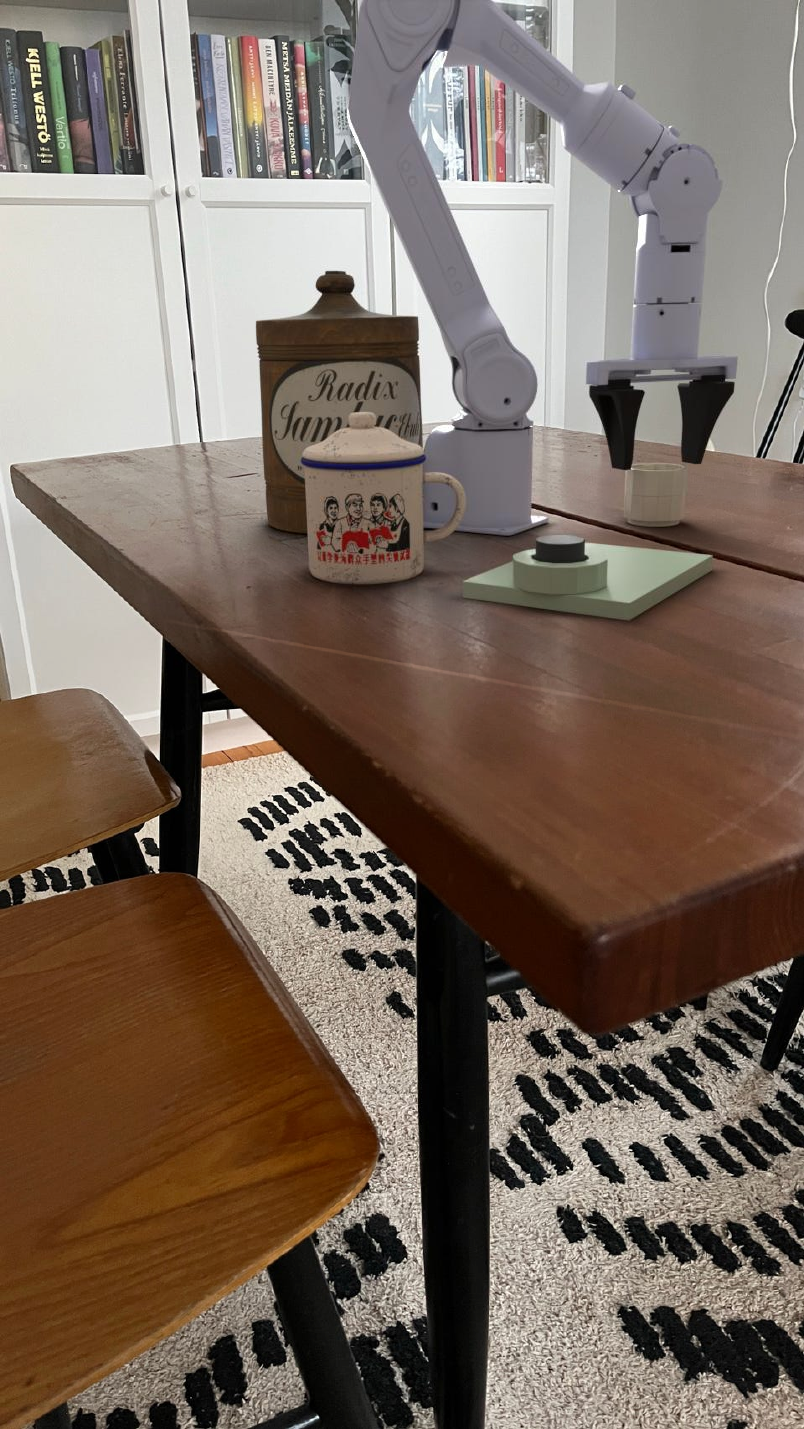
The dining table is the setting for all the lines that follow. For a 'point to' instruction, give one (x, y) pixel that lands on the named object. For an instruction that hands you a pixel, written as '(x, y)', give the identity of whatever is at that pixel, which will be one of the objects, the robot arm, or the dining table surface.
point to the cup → (655, 494)
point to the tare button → (560, 549)
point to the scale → (591, 580)
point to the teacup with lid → (369, 505)
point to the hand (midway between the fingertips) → (656, 466)
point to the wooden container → (330, 385)
